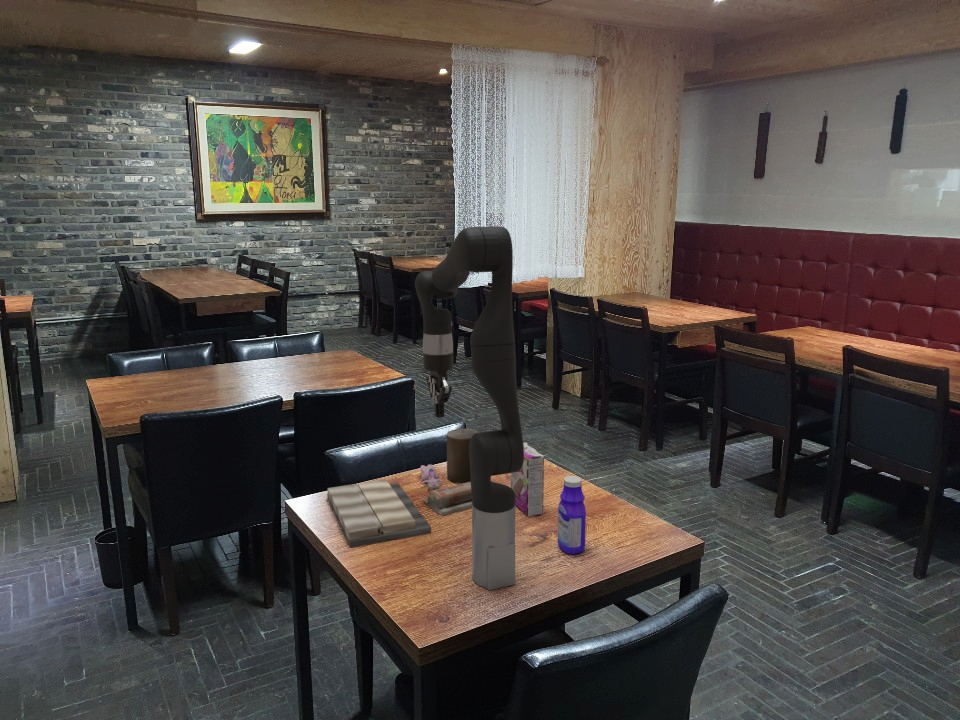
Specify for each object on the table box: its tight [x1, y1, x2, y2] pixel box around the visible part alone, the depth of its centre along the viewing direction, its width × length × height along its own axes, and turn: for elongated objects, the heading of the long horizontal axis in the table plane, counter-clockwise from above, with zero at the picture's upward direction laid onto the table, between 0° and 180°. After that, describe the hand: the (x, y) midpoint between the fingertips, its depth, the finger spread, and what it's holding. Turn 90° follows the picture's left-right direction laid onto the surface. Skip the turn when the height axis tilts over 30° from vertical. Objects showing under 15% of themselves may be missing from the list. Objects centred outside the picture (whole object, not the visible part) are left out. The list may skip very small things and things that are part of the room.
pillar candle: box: [446, 428, 480, 484], centre depth 204 cm, size 10×10×15 cm
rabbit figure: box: [420, 464, 444, 492], centre depth 201 cm, size 6×6×15 cm
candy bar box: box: [510, 442, 545, 518], centre depth 184 cm, size 11×5×16 cm, turn 22°
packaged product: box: [423, 482, 472, 517], centre depth 189 cm, size 18×5×10 cm
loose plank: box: [357, 478, 415, 534], centre depth 182 cm, size 28×9×2 cm, turn 22°
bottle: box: [557, 475, 587, 555], centre depth 162 cm, size 7×6×17 cm
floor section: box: [326, 482, 432, 549], centre depth 181 cm, size 30×20×4 cm, turn 22°
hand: (439, 416), depth 178 cm, fingers closed
